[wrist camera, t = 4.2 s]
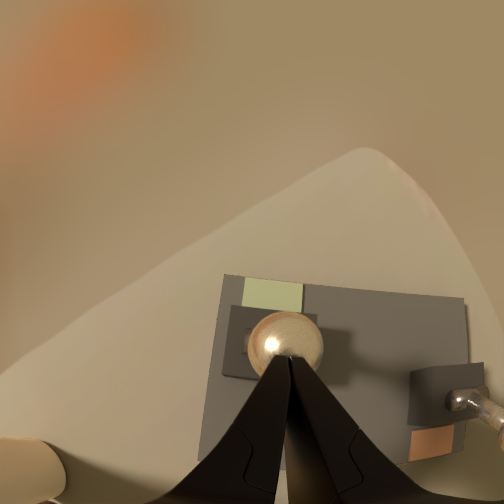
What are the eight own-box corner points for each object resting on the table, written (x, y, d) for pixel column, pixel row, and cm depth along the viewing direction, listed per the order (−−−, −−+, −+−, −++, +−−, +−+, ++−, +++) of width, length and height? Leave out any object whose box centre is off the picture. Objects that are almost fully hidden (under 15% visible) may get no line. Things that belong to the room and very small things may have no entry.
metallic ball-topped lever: (296, 369, 16) (333, 393, 8) (241, 364, 16) (235, 386, 8) (301, 323, 16) (342, 312, 9) (247, 317, 16) (246, 302, 9)
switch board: (452, 449, 16) (486, 452, 12) (200, 456, 17) (189, 471, 13) (454, 303, 22) (484, 285, 18) (225, 281, 23) (221, 255, 19)
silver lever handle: (471, 409, 14) (537, 453, 7) (440, 414, 14) (506, 470, 7) (482, 374, 14) (556, 411, 7) (451, 378, 14) (528, 424, 7)
